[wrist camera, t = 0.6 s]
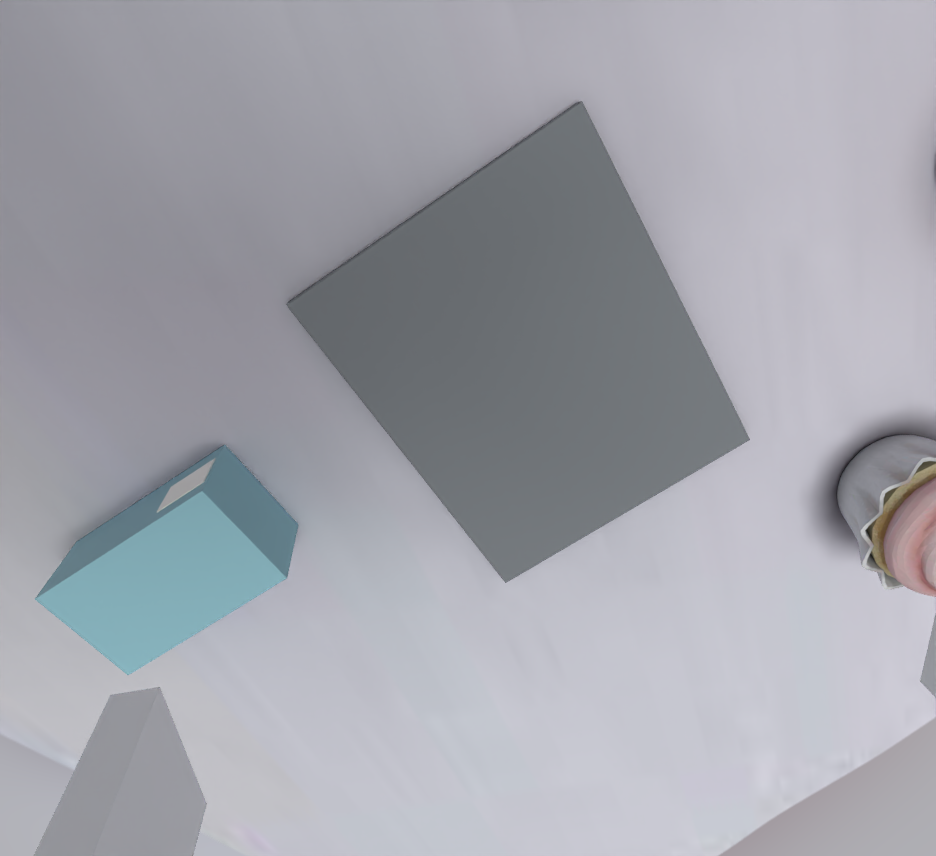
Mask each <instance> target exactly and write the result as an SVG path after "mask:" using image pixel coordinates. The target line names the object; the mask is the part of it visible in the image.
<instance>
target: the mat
mask: <svg viewBox="0 0 936 856" xmlns="http://www.w3.org/2000/svg"><path fill="white" fill-rule="evenodd" d="M287 306H288V308H289V309H290V310H291V312H292V313H293V314H294V315H295V317H296V318H297V319H298V320H299V322H300V323H301V324H302V325H303V327H304V328H305V329H306V331H307V332H308V333H309V334H310V336H311V337H312V338H313V339H314V341H315V342H316V343H317V344H318V346H319V347H320V348H321V350H322V351H323V352H324V353H325V355H326V356H327V357H328V358H329V360H330V361H331V362H332V363H333V365H334V366H335V367H336V369H337V370H338V371H339V372H340V374H341V375H342V376H343V377H344V379H345V380H346V381H347V382H348V384H349V385H350V386H351V388H352V389H353V390H354V391H355V393H356V394H357V395H358V396H359V398H360V399H361V400H362V401H363V403H364V404H365V405H366V407H367V408H368V409H369V410H370V412H371V413H372V414H373V415H374V417H375V418H376V419H377V421H378V422H379V423H380V424H381V426H382V427H383V428H384V429H385V431H386V432H387V433H388V434H389V436H390V437H391V438H392V440H393V441H394V442H395V443H396V445H397V446H398V447H399V448H400V450H401V451H402V452H403V453H404V455H405V456H406V457H407V459H408V460H409V461H410V462H411V464H412V465H413V466H414V467H415V469H416V470H417V471H418V472H419V474H420V475H421V476H422V478H423V479H424V480H425V481H426V483H427V484H428V485H429V486H430V488H431V489H432V490H433V491H434V493H435V494H436V495H437V497H438V498H439V499H440V500H441V502H442V503H443V504H444V505H445V507H446V508H447V509H448V510H449V512H450V513H451V514H452V516H453V517H454V518H455V519H456V521H457V522H458V523H459V524H460V526H461V527H462V528H463V529H464V531H465V532H466V533H467V535H468V536H469V537H470V538H471V540H472V541H473V542H474V543H475V545H476V546H477V547H478V548H479V550H480V551H481V552H482V554H483V555H484V556H485V557H486V559H487V560H488V561H489V562H490V564H491V565H492V566H493V567H494V569H495V570H496V571H497V573H498V574H499V575H500V576H501V578H502V579H503V580H504V581H505V583H506V582H508V581H510V580H511V579H513V578H515V577H517V576H518V575H520V574H522V573H523V572H525V571H527V570H529V569H530V568H532V567H534V566H535V565H537V564H539V563H541V562H542V561H544V560H546V559H547V558H549V557H551V556H552V555H554V554H556V553H558V552H559V551H561V550H563V549H564V548H566V547H568V546H570V545H571V544H573V543H575V542H576V541H578V540H580V539H581V538H583V537H585V536H587V535H588V534H590V533H592V532H593V531H595V530H597V529H599V528H600V527H602V526H604V525H605V524H607V523H609V522H610V521H612V520H614V519H616V518H617V517H619V516H621V515H622V514H624V513H626V512H628V511H629V510H631V509H633V508H634V507H636V506H638V505H639V504H641V503H643V502H645V501H646V500H648V499H650V498H651V497H653V496H655V495H657V494H658V493H660V492H662V491H663V490H665V489H667V488H668V487H670V486H672V485H674V484H675V483H677V482H679V481H680V480H682V479H684V478H686V477H687V476H689V475H691V474H692V473H694V472H696V471H697V470H699V469H701V468H703V467H704V466H706V465H708V464H709V463H711V462H713V461H715V460H716V459H718V458H720V457H721V456H723V455H725V454H726V453H728V452H730V451H732V450H733V449H735V448H737V447H738V446H740V445H742V444H744V443H745V442H747V441H749V440H750V439H749V437H748V435H747V433H746V431H745V429H744V427H743V425H742V423H741V420H740V418H739V416H738V414H737V412H736V410H735V408H734V406H733V404H732V402H731V400H730V398H729V396H728V394H727V392H726V390H725V388H724V386H723V384H722V382H721V380H720V378H719V376H718V374H717V372H716V370H715V368H714V366H713V364H712V362H711V360H710V358H709V356H708V354H707V352H706V350H705V348H704V346H703V344H702V342H701V340H700V338H699V336H698V334H697V332H696V330H695V328H694V326H693V324H692V322H691V320H690V318H689V316H688V314H687V312H686V310H685V308H684V306H683V304H682V302H681V300H680V298H679V296H678V294H677V292H676V290H675V288H674V286H673V284H672V282H671V280H670V278H669V276H668V274H667V271H666V269H665V267H664V265H663V263H662V261H661V259H660V257H659V255H658V253H657V251H656V249H655V247H654V245H653V243H652V241H651V239H650V237H649V235H648V233H647V231H646V229H645V227H644V225H643V223H642V221H641V219H640V217H639V215H638V213H637V211H636V209H635V207H634V205H633V203H632V201H631V199H630V197H629V195H628V193H627V191H626V189H625V187H624V185H623V183H622V181H621V179H620V177H619V175H618V173H617V171H616V169H615V167H614V165H613V163H612V161H611V159H610V157H609V155H608V153H607V151H606V149H605V147H604V145H603V143H602V141H601V139H600V137H599V135H598V133H597V131H596V129H595V127H594V124H593V122H592V120H591V118H590V116H589V114H588V112H587V110H586V108H585V106H584V104H583V102H578V103H576V104H575V105H573V106H572V107H570V108H569V109H567V110H566V111H564V112H563V113H562V114H560V115H559V116H557V117H556V118H554V119H553V120H551V121H550V122H549V123H547V124H546V125H544V126H543V127H541V128H540V129H538V130H537V131H535V132H534V133H533V134H531V135H530V136H528V137H527V138H525V139H524V140H522V141H521V142H520V143H518V144H517V145H515V146H514V147H512V148H511V149H509V150H508V151H507V152H505V153H504V154H502V155H501V156H499V157H498V158H496V159H495V160H493V161H492V162H491V163H489V164H488V165H486V166H485V167H483V168H482V169H480V170H479V171H478V172H476V173H475V174H473V175H472V176H470V177H469V178H467V179H466V180H464V181H463V182H462V183H460V184H459V185H457V186H456V187H454V188H453V189H451V190H450V191H449V192H447V193H446V194H444V195H443V196H441V197H440V198H438V199H437V200H435V201H434V202H433V203H431V204H430V205H428V206H427V207H425V208H424V209H422V210H421V211H420V212H418V213H417V214H415V215H414V216H412V217H411V218H409V219H408V220H406V221H405V222H404V223H402V224H401V225H399V226H398V227H396V228H395V229H393V230H392V231H391V232H389V233H388V234H386V235H385V236H383V237H382V238H380V239H379V240H378V241H376V242H375V243H373V244H372V245H370V246H369V247H367V248H366V249H364V250H363V251H362V252H360V253H359V254H357V255H356V256H354V257H353V258H351V259H350V260H349V261H347V262H346V263H344V264H343V265H341V266H340V267H338V268H337V269H335V270H334V271H333V272H331V273H330V274H328V275H327V276H325V277H324V278H322V279H321V280H320V281H318V282H317V283H315V284H314V285H312V286H311V287H309V288H308V289H306V290H305V291H304V292H302V293H301V294H299V295H298V296H296V297H295V298H293V299H292V300H291V301H289V302H288V304H287Z"/></svg>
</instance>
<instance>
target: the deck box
mask: <svg viewBox="0 0 936 856" xmlns="http://www.w3.org/2000/svg"><path fill="white" fill-rule="evenodd" d="M297 529H298V524H297V522H296V521H295V520H294V519H293V518H292V517H291V516H290V515H289V514H288V513H287V512H286V511H285V509H284V508H283V507H282V506H281V505H280V504H279V503H278V502H277V501H276V500H275V499H274V497H273V496H272V495H271V494H270V493H269V492H268V491H267V490H266V489H265V488H264V487H263V486H262V484H261V483H260V482H259V481H258V480H257V479H256V478H255V477H254V476H253V475H252V474H251V473H250V471H249V470H248V469H247V468H246V467H245V466H244V465H243V464H242V463H241V462H240V461H239V459H238V458H237V457H236V456H235V455H234V454H233V453H232V452H231V451H230V450H229V449H228V448H227V446H226V445H223V446H222V447H220V448H219V449H217V450H216V451H214V452H213V453H211V454H210V455H208V456H207V457H205V458H203V459H202V460H200V461H199V462H197V463H196V464H194V465H193V466H191V467H190V468H188V469H187V470H185V471H184V472H182V473H181V474H179V475H178V476H176V477H175V478H173V479H171V480H170V481H168V482H167V483H165V484H164V485H162V486H161V487H159V488H158V489H156V490H155V491H153V492H152V493H150V494H149V495H147V496H146V497H144V498H143V499H141V500H139V501H138V502H136V503H135V504H133V505H132V506H130V507H129V508H127V509H126V510H124V511H123V512H121V513H120V514H118V515H117V516H115V517H114V518H112V519H110V520H109V521H107V522H106V523H104V524H103V525H101V526H100V527H98V528H97V529H95V530H94V531H92V532H91V533H89V534H88V535H86V536H85V537H83V538H82V539H80V540H78V541H77V542H76V543H75V544H74V546H73V547H72V549H71V550H70V551H69V553H68V554H67V556H66V557H65V558H64V560H63V561H62V562H61V564H60V565H59V567H58V568H57V569H56V571H55V572H54V573H53V575H52V576H51V578H50V579H49V580H48V582H47V583H46V584H45V586H44V587H43V589H42V590H41V591H40V593H39V594H38V596H37V597H36V598H35V600H37V601H38V602H39V603H40V604H41V605H43V606H44V607H45V608H46V609H48V610H49V611H50V612H51V613H52V614H54V615H55V616H56V617H57V618H59V619H60V620H61V621H62V622H64V623H65V624H66V625H67V626H68V627H70V628H71V629H72V630H73V631H75V632H76V633H77V634H78V635H79V636H81V637H82V638H83V639H84V640H86V641H87V642H88V643H89V644H90V645H92V646H93V647H94V648H95V649H97V650H98V651H99V652H100V653H101V654H103V655H104V656H105V657H106V658H108V659H109V660H110V661H111V662H112V663H114V664H115V665H116V666H117V667H119V668H120V669H121V670H122V671H123V672H125V673H126V674H127V675H129V674H131V673H133V672H134V671H136V670H138V669H139V668H141V667H142V666H144V665H146V664H147V663H149V662H151V661H152V660H154V659H156V658H157V657H159V656H160V655H162V654H164V653H165V652H167V651H169V650H170V649H172V648H174V647H175V646H177V645H178V644H180V643H182V642H183V641H185V640H187V639H188V638H190V637H192V636H193V635H195V634H196V633H198V632H200V631H201V630H203V629H205V628H206V627H208V626H209V625H211V624H213V623H214V622H216V621H218V620H219V619H221V618H223V617H224V616H226V615H227V614H229V613H231V612H232V611H234V610H236V609H237V608H239V607H241V606H242V605H244V604H245V603H247V602H249V601H250V600H252V599H254V598H255V597H257V596H259V595H260V594H262V593H263V592H265V591H267V590H268V589H270V588H272V587H273V586H275V585H276V584H278V583H280V582H281V581H283V580H285V579H286V578H287V576H288V571H289V566H290V561H291V557H292V552H293V547H294V543H295V538H296V533H297Z"/></svg>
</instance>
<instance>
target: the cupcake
mask: <svg viewBox="0 0 936 856" xmlns="http://www.w3.org/2000/svg"><path fill="white" fill-rule="evenodd" d="M837 500H838V505H839V508H840V511H841V513H842V515H843V517H844V518H845V520H846V521H847V523H848V525H849V526H850V528H851V530H852V532H853V533H854V535H855V537H856V539H857V541H858V546H859V552H860V558H861V564H862V567H863V568H865V569H866V570H870V571H875V572H877V573H878V576H879V578H880V581H881V583H882V586H883V588H884V589H885V590H891V589H895V588H899V587H903V586H905V587H907V588H909V589H911V590H913V591H915V592H917V593H920V594H924V595H929V596H934V597H936V441H935V440H932V439H928V438H925V437H921V436H918V435H896V436H890V437H885V438H883V439H881V440H878V441H876V442H874V443H872V444H871V445H869V446H867V447H866V448H864V449H863V450H862V451H860V452H859V453H858V454H857V455H856V456H855V457H854V458H853V459H852V461H851V462H850V463H849V464H848V466H847V467H846V469H845V470H844V472H843V473H842V476H841V478H840V481H839V485H838V490H837Z"/></svg>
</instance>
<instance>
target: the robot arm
mask: <svg viewBox="0 0 936 856" xmlns="http://www.w3.org/2000/svg"><path fill="white" fill-rule="evenodd" d="M920 682H921V683H922V684H923V685H924V686H925V687H926V688H927V689H928V690H929V691H930V692H931V693H932V694H933V695H934V696H935V697H936V615H935V619H934V623H933V628H932V632H931V636H930V641H929V645H928V649H927V654H926V658H925V662H924V667H923V671H922V675H921V680H920ZM206 804H207V803H206V801H205V798H204V796H203V793H202V791H201V788H200V786H199V783H198V781H197V778H196V776H195V773H194V771H193V768H192V766H191V763H190V761H189V759H188V756H187V754H186V751H185V749H184V746H183V744H182V741H181V739H180V736H179V734H178V731H177V729H176V726H175V724H174V721H173V719H172V716H171V714H170V711H169V709H168V706H167V704H166V701H165V699H164V696H163V694H162V691H161V689H160V687H158V688H151V689H145V690H139V691H133V692H127V693H121V694H114V695H110V697H109V699H108V702H107V704H106V706H105V708H104V710H103V712H102V714H101V716H100V718H99V720H98V722H97V725H96V727H95V729H94V731H93V733H92V735H91V737H90V739H89V741H88V743H87V745H86V748H85V750H84V752H83V754H82V756H81V758H80V760H79V762H78V764H77V766H76V768H75V771H74V773H73V775H72V777H71V779H70V781H69V783H68V785H67V787H66V790H65V791H64V794H63V796H62V798H61V800H60V802H59V804H58V806H57V808H56V810H55V812H54V815H53V817H52V819H51V821H50V823H49V825H48V827H47V829H46V831H45V833H44V835H43V837H42V840H41V842H40V844H39V846H38V848H37V850H36V852H35V854H34V856H193V854H194V850H195V846H196V843H197V839H198V835H199V831H200V827H201V824H202V820H203V816H204V812H205V808H206Z"/></svg>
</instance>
